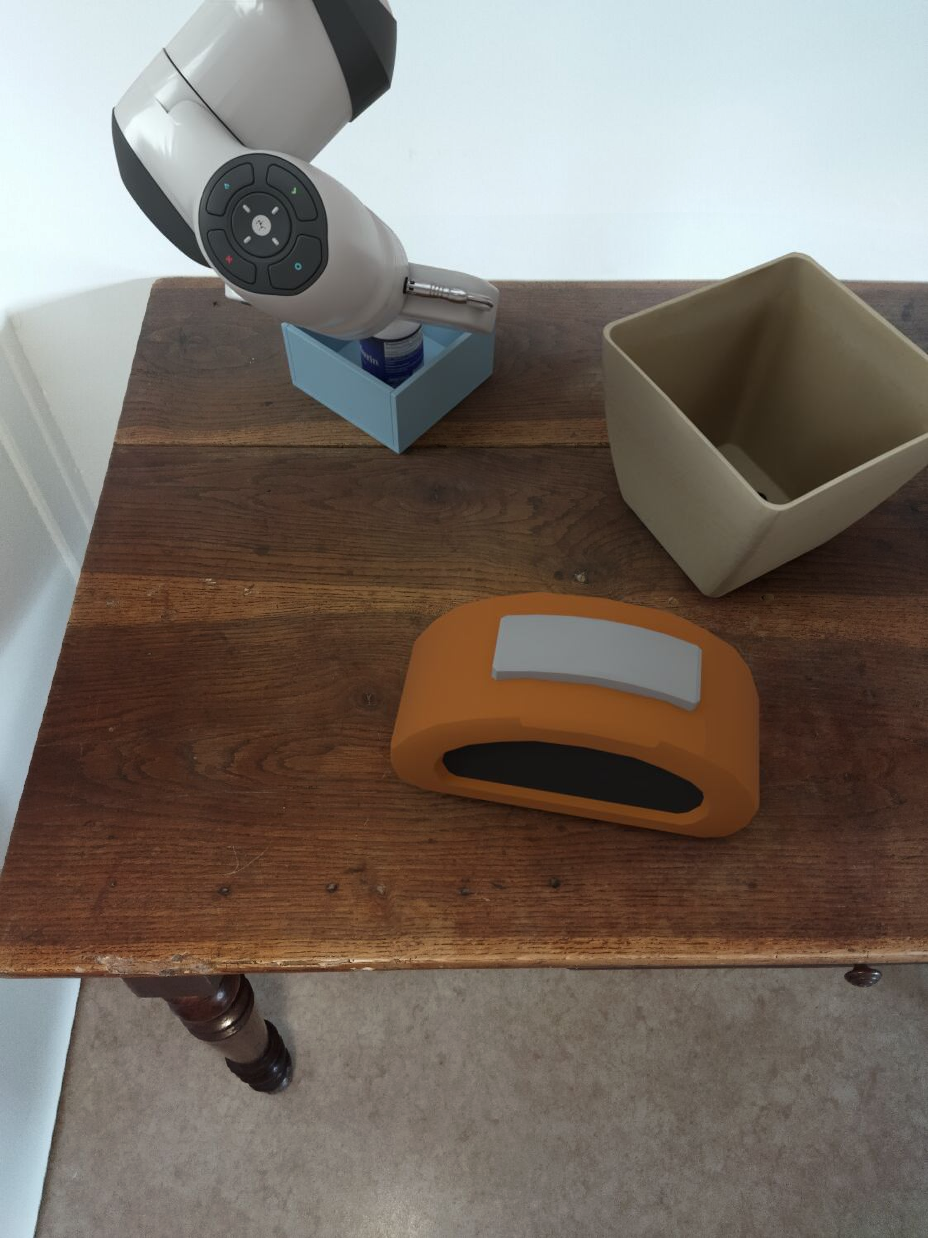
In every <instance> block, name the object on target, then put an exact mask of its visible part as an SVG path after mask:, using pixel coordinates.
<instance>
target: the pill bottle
mask: <svg viewBox="0 0 928 1238" xmlns="http://www.w3.org/2000/svg"><path fill="white" fill-rule="evenodd" d="M359 344H360V353H361V363H362V369H363V370H365V371H366V372H368V373H370V374H371V375H373V376H374V377H376V378H378V379H379V380H381V381H382V382H384V383H386V384H387V385H389V386H390V387H392V388H393V389H396V388H397V387H399V386H400V385H401V384H402V383H404V382H405V381H406V380H407V379H408V378H410V377H411V376H412V375H413V374H414V373H416V372H417V371H418V370H419V369H421V368H422V367H423V366H424V346H423V324H419V323H413V322H408V321H403V320H398V319H394V321H393V322H392V323H391V324H390V325H389V326H387V327H386V328H385V329H384V330H382V331H381V332H379V333H377V334H376V335H374V336H371V337H369V338H365V339H361V340H359Z"/></svg>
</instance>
